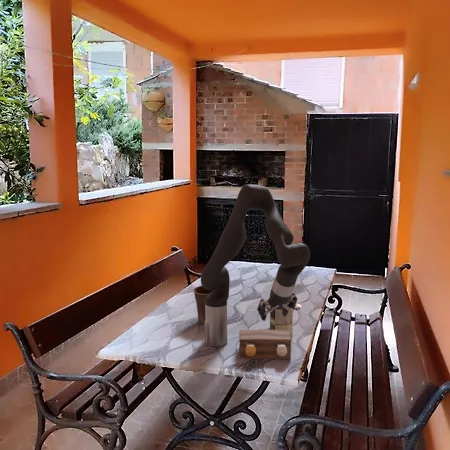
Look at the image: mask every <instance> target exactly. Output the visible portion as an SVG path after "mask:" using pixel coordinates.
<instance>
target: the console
mask: <svg viewBox="0 0 450 450" xmlns="http://www.w3.org/2000/svg"><path fill="white" fill-rule="evenodd" d="M238 331H239V338H238V339H239V341H238V342H239V346H238V347H239V348H238V349H239V359H240V360H242V359H244V360H249V359H250V360H251V359H252V360H256V359H257V360H258V359H259V360H260V359H261V360H264V359H266V360H270V359H273V360H278V359H282V360H285V359H287V360H288V359H290V360H292V359H291V358H292V338H291V337H292V336H290V334H289V331H288V330H270V329H239V330H238ZM246 342H254V347H255V348H256V354H255V355H254V356H248V355H247V354H246V351H245V349H246ZM277 342H285V346H286V348H287V354H286V355H285V356H279V355H278V354H277V348H276V344H277Z"/></svg>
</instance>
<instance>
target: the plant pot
mask: <svg viewBox="0 0 450 450" xmlns="http://www.w3.org/2000/svg"><path fill="white" fill-rule="evenodd" d="M192 291H193V293H194V299H195V303H196V311H197V319H198V320H197V321H198V324H200V325H203V326H205V299H206V297H207V296H208V295H209V294H210V293H211V292H212V291H213V290H206V289H205V288H203V286H202V285H199V286H196V287H194V288H193V290H192Z"/></svg>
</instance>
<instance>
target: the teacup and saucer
mask: <svg viewBox="0 0 450 450" xmlns="http://www.w3.org/2000/svg"><path fill="white" fill-rule="evenodd" d="M301 308H302V305H301V304H299V303H298V301H297V302H296V306H295V308H294V309H293V310H295V309H301Z"/></svg>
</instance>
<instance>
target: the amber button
mask: <svg viewBox="0 0 450 450" xmlns="http://www.w3.org/2000/svg"><path fill="white" fill-rule="evenodd" d="M245 351H246V354H247V355H248V356H254V355H255V354H256V348H255V347H254V342H246V349H245Z"/></svg>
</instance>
